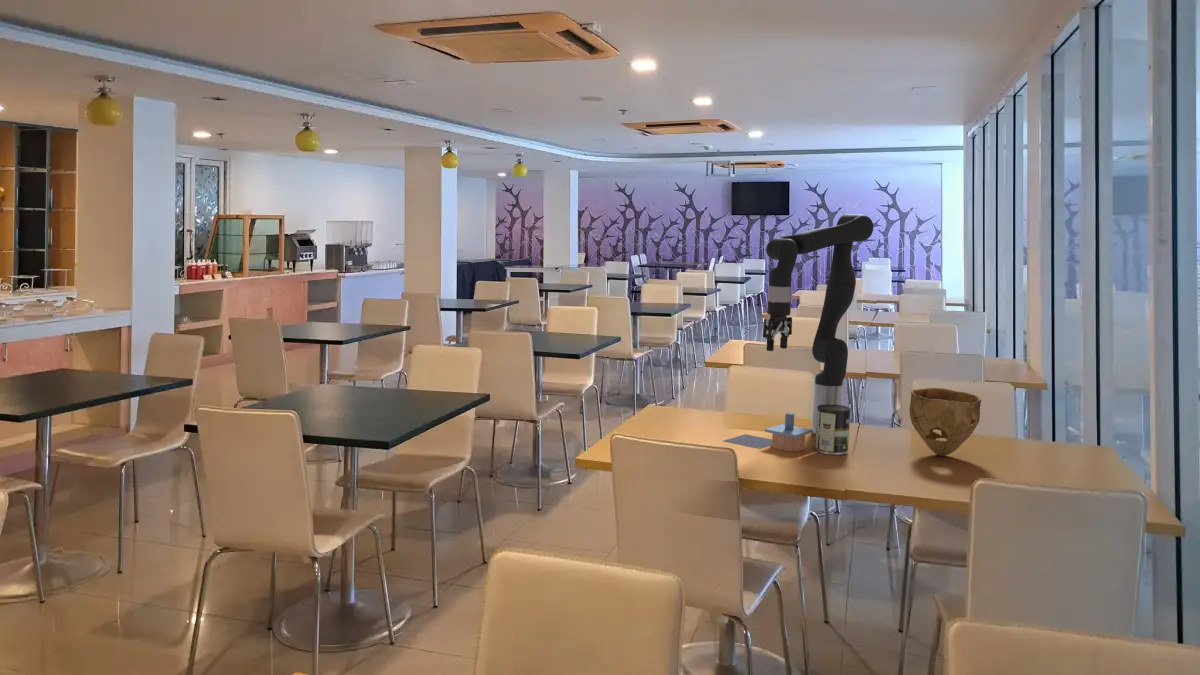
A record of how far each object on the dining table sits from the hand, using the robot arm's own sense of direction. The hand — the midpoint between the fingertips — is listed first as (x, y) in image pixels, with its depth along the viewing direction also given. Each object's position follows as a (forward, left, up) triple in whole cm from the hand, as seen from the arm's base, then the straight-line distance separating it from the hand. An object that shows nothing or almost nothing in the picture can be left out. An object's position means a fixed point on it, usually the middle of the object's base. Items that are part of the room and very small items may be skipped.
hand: (776, 349), depth 304 cm
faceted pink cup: (+7, +10, -30) cm, 32 cm away
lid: (+7, +10, -25) cm, 27 cm away
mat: (+9, -2, -30) cm, 31 cm away
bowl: (-21, +48, -30) cm, 61 cm away
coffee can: (-1, +21, -30) cm, 37 cm away
